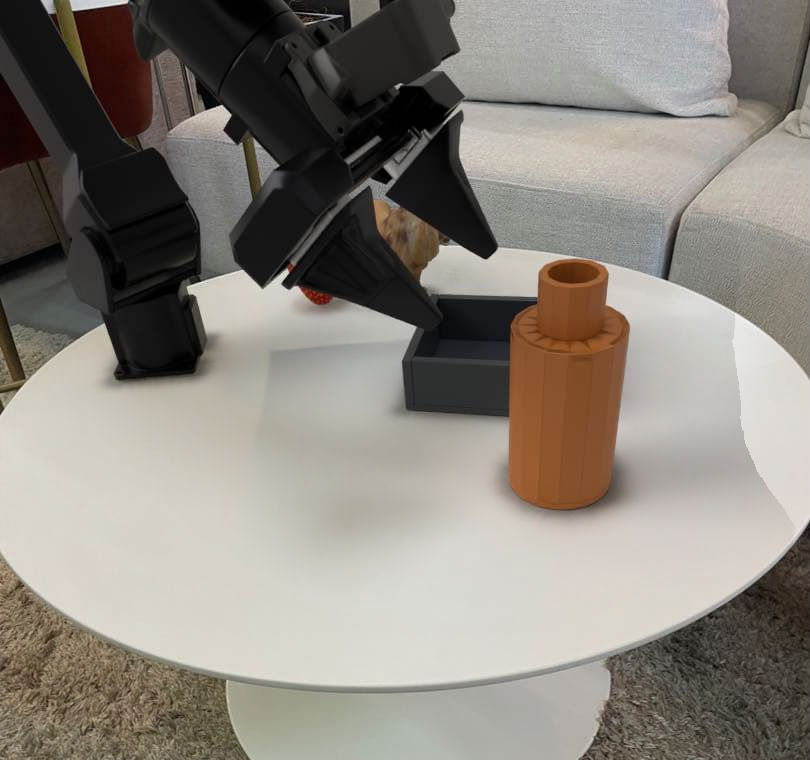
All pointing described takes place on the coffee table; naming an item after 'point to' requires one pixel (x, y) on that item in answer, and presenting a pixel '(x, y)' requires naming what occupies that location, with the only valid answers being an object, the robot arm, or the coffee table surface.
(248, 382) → the coffee table surface
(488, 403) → the box
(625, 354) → the bottle
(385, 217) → the lion figurine
